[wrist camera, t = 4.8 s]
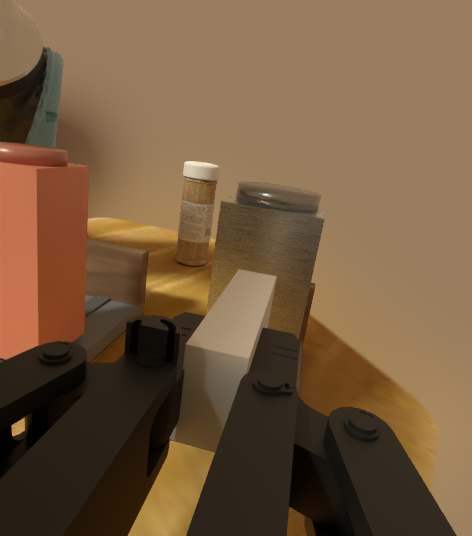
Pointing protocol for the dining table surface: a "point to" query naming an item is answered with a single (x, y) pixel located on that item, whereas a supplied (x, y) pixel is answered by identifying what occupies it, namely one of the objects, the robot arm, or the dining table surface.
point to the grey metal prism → (269, 246)
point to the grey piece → (111, 293)
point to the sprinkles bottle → (196, 212)
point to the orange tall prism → (41, 247)
